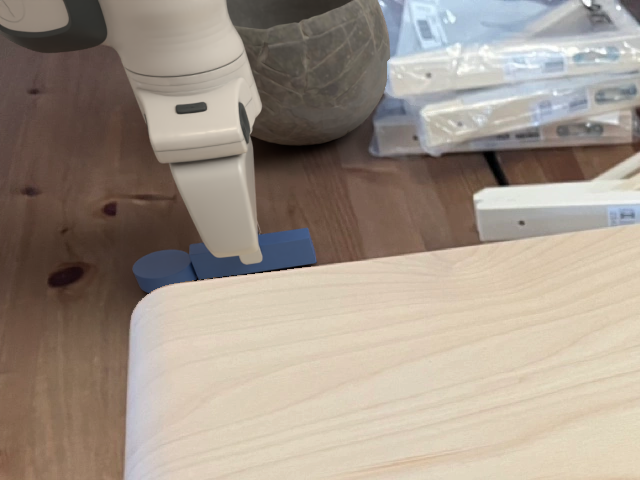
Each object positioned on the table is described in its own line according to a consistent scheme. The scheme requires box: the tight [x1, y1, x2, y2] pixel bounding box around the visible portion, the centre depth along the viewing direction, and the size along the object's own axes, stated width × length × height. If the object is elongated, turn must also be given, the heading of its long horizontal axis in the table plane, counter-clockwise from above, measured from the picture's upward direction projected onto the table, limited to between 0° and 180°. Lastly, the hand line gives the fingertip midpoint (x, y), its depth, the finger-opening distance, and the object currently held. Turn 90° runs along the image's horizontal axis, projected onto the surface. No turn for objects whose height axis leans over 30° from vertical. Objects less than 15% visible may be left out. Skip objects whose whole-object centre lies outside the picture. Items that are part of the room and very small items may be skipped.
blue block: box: [132, 227, 317, 294], centre depth 90 cm, size 15×5×2 cm, turn 109°
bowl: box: [226, 0, 391, 146], centre depth 106 cm, size 20×20×15 cm
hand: (252, 250), depth 90 cm, fingers closed on blue block, 2 cm apart
